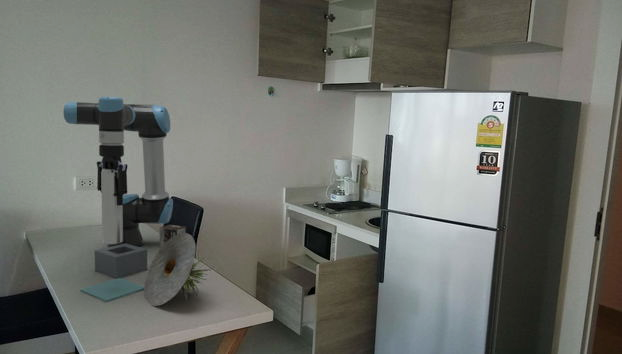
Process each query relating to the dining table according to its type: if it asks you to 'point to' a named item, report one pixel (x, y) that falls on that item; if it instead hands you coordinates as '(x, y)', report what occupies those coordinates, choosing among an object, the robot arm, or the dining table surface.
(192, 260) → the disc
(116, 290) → the teal mat
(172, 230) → the coffee box
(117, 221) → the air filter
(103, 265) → the grey hollow square block
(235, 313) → the dining table surface
